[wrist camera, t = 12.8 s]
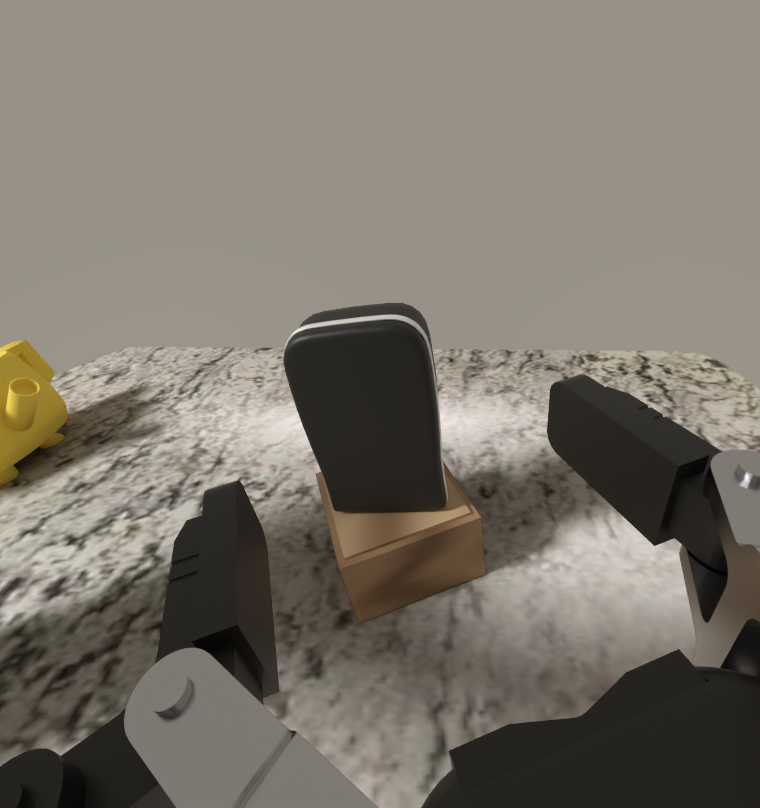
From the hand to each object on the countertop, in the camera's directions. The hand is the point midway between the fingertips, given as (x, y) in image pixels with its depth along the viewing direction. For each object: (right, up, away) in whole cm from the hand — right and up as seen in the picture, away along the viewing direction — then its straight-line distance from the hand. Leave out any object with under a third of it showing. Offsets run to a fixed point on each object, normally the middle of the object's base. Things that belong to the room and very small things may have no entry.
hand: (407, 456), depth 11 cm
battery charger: (0, -4, +15) cm, 16 cm away
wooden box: (+1, -8, +18) cm, 20 cm away
